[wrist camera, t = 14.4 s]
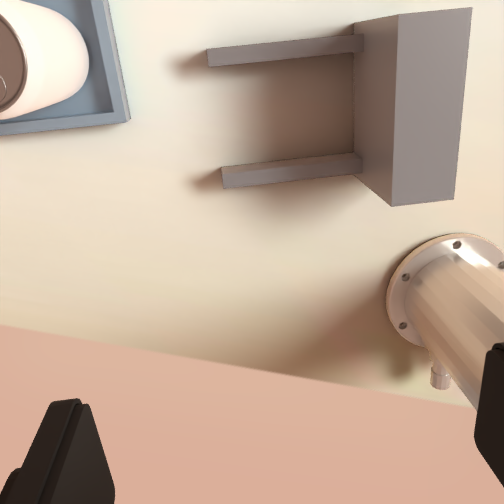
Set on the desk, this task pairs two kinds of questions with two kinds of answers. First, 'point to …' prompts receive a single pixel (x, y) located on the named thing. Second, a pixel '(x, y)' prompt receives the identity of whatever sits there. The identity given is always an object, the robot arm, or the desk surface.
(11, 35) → the can
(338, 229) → the desk surface
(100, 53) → the tray
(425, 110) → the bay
